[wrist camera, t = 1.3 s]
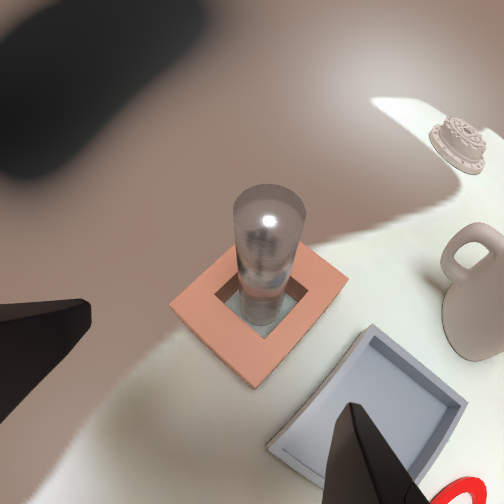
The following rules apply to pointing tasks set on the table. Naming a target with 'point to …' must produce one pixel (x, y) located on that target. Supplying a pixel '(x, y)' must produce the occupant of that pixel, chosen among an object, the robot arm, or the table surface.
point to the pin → (266, 248)
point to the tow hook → (463, 491)
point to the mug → (475, 295)
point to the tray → (374, 408)
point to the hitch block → (243, 336)
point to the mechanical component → (459, 144)
